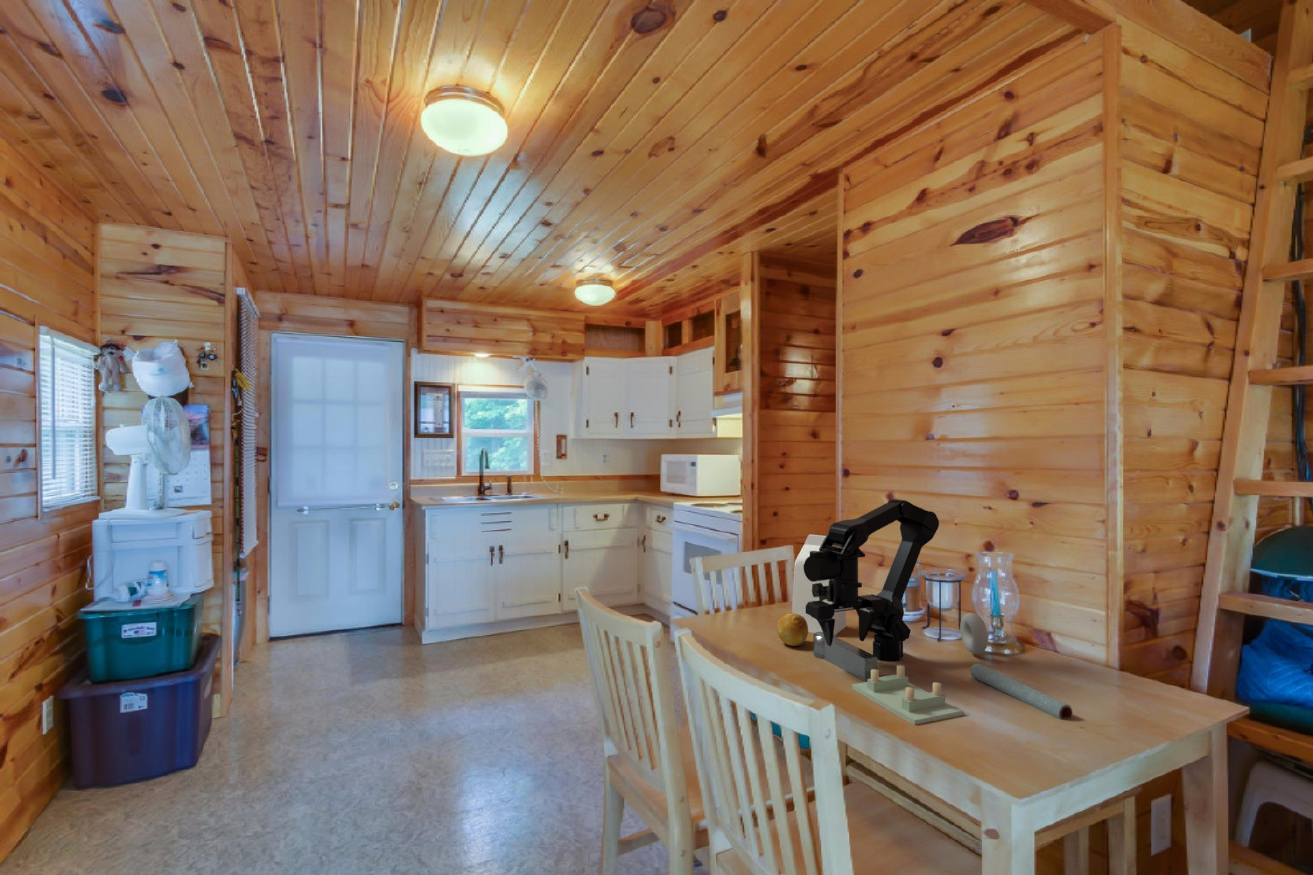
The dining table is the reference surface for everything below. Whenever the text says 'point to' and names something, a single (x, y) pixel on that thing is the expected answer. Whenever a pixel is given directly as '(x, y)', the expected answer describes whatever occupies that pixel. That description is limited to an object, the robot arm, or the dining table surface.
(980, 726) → the dining table surface
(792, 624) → the fruit
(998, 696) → the dining table surface
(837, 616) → the milk
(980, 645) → the donut
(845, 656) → the long grey rectangular beam
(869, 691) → the rack
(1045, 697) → the aluminum foil
